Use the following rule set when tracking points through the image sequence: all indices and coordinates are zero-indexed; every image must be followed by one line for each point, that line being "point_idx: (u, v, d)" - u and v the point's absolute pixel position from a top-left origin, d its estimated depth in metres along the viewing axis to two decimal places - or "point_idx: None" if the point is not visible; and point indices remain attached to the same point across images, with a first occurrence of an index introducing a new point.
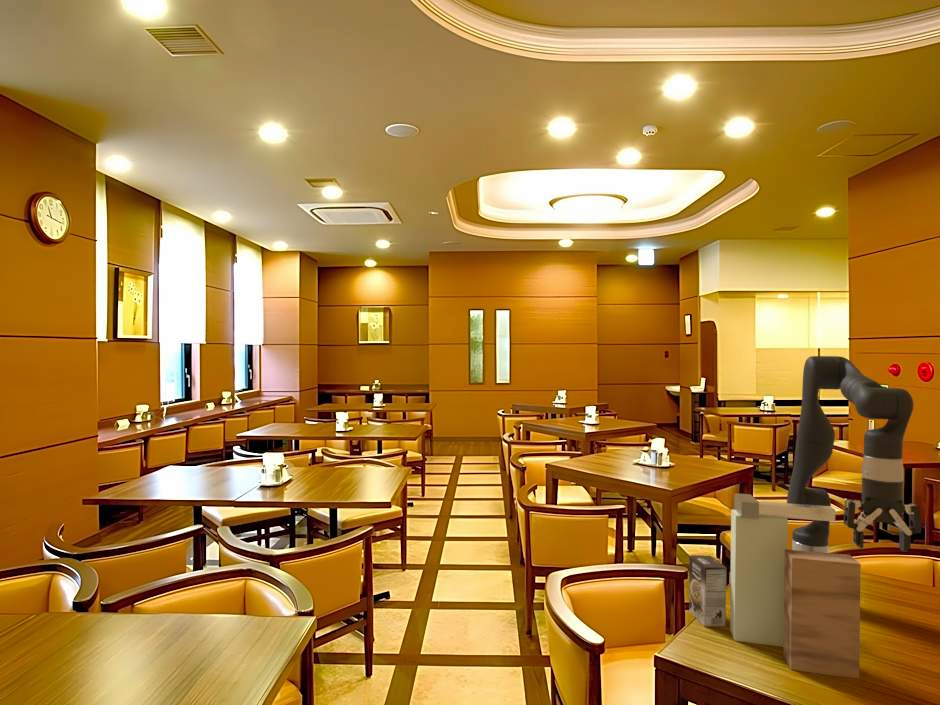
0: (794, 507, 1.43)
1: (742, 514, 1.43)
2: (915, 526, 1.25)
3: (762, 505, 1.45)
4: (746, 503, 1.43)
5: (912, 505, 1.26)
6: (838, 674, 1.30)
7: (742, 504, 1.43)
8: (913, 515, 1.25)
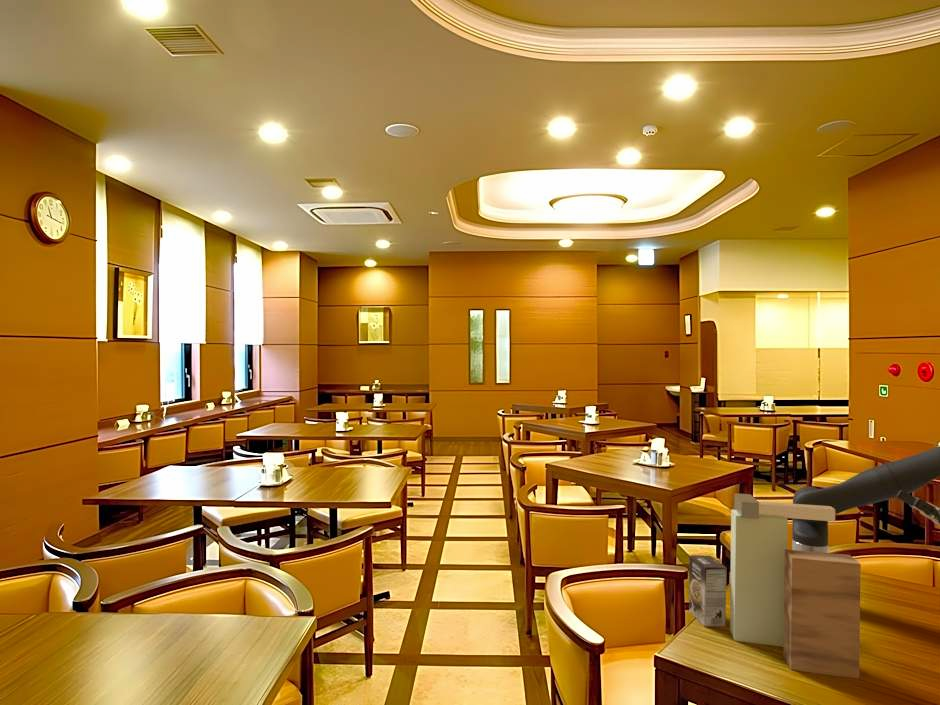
0: (794, 507, 1.43)
1: (742, 514, 1.43)
2: None
3: (762, 505, 1.45)
4: (746, 503, 1.43)
5: None
6: (838, 674, 1.30)
7: (742, 504, 1.43)
8: (926, 513, 1.42)
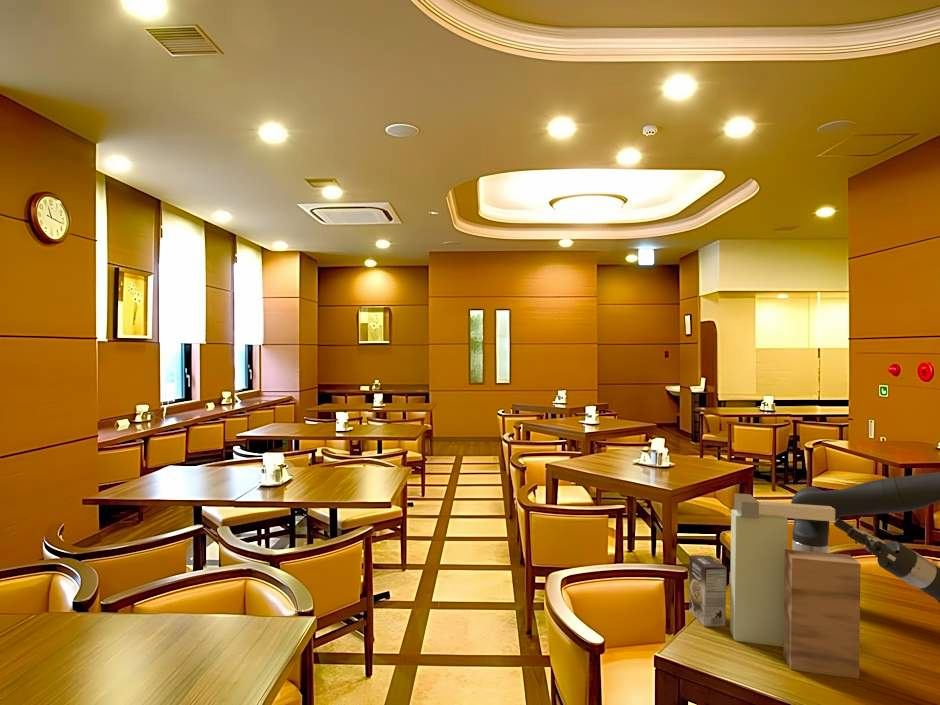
0: (794, 507, 1.43)
1: (742, 514, 1.43)
2: None
3: (762, 505, 1.45)
4: (746, 503, 1.43)
5: None
6: (838, 674, 1.30)
7: (742, 504, 1.43)
8: None
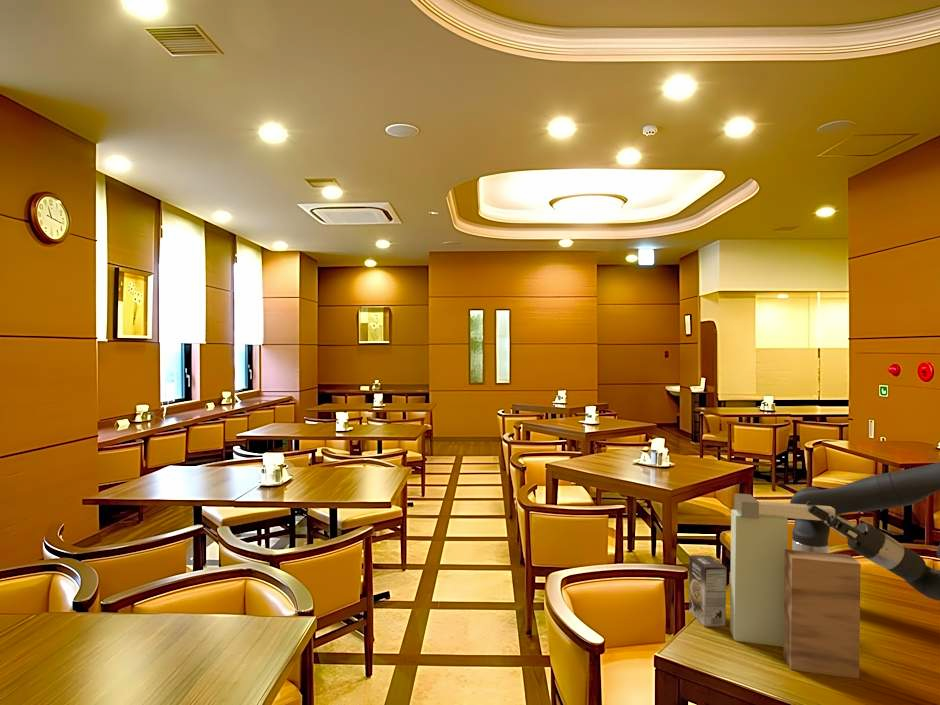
0: (794, 507, 1.43)
1: (742, 514, 1.43)
2: None
3: (762, 505, 1.45)
4: (746, 503, 1.43)
5: None
6: (838, 674, 1.30)
7: (742, 504, 1.43)
8: None
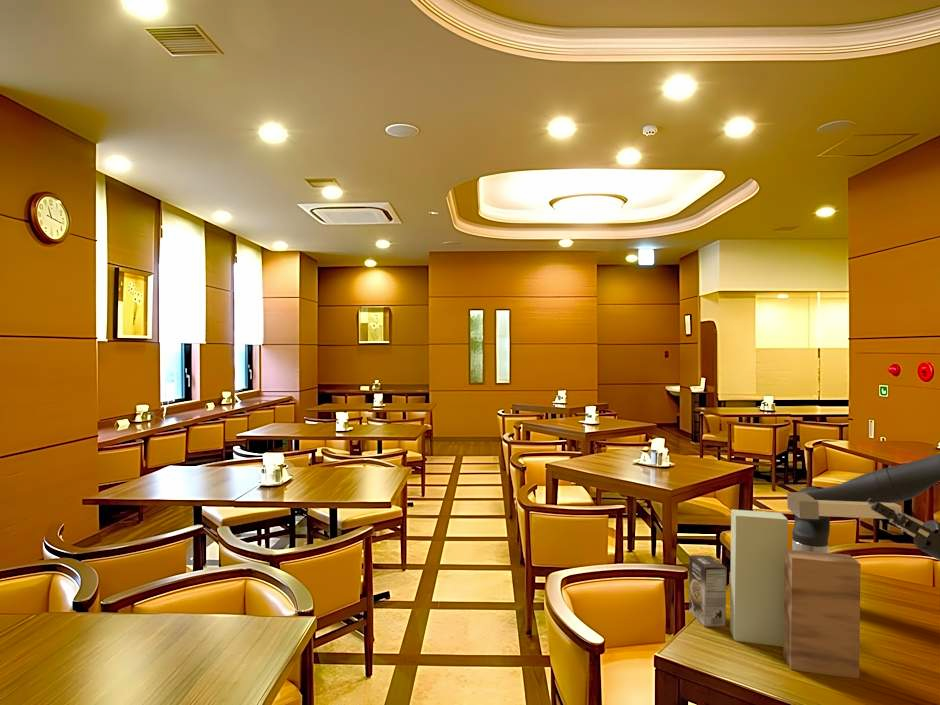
0: (856, 505, 1.32)
1: (800, 515, 1.32)
2: None
3: (821, 504, 1.34)
4: (804, 502, 1.32)
5: None
6: (838, 674, 1.30)
7: (800, 504, 1.32)
8: None
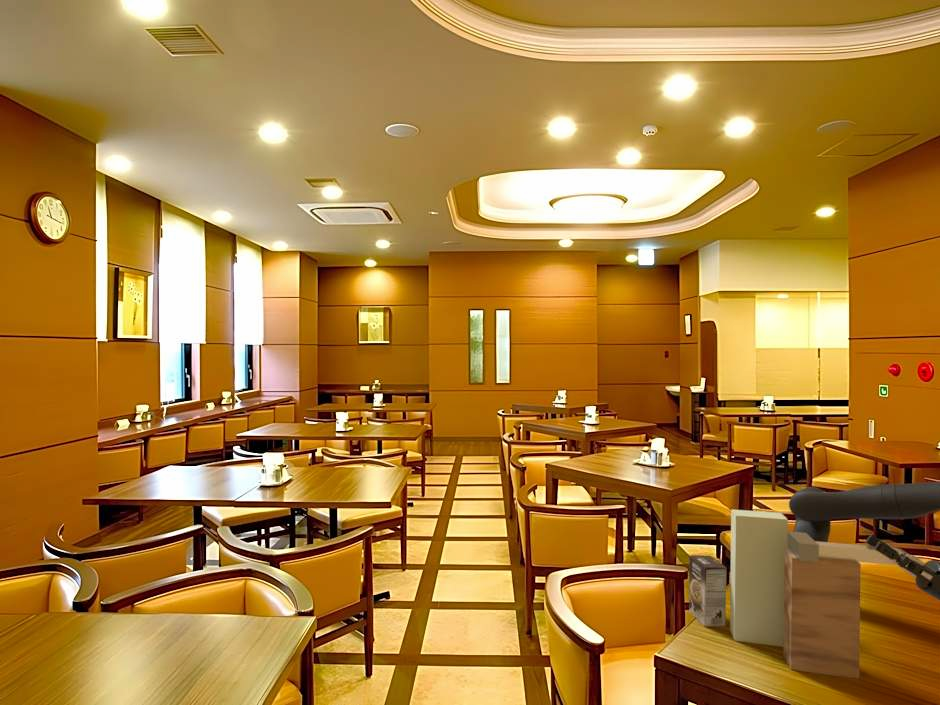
0: (857, 549, 1.30)
1: (800, 557, 1.30)
2: None
3: (821, 546, 1.32)
4: (804, 545, 1.30)
5: None
6: (838, 674, 1.30)
7: (800, 546, 1.30)
8: None
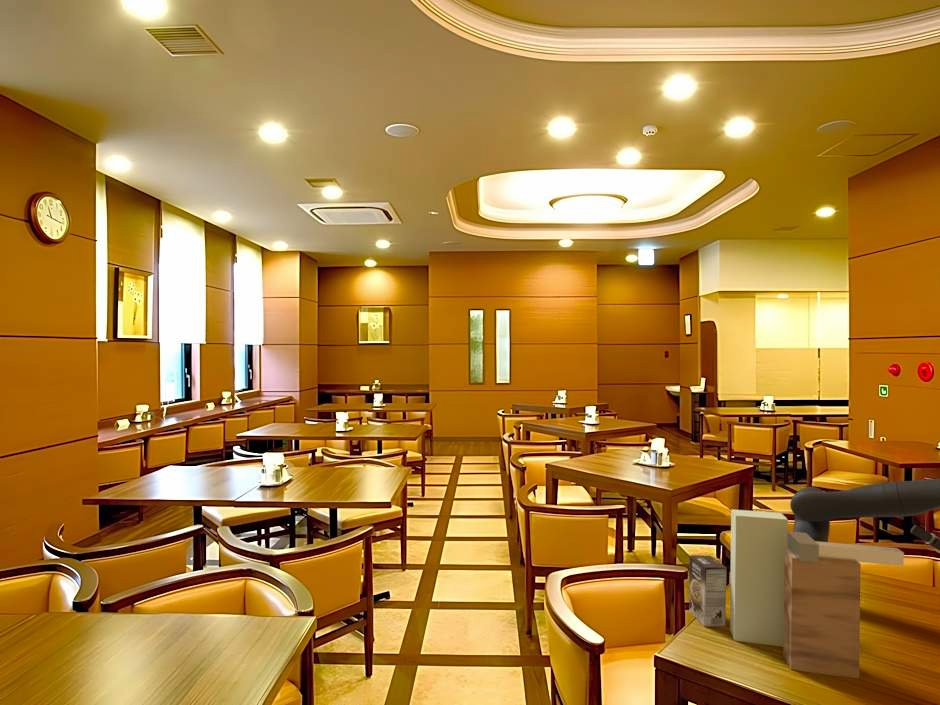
0: (857, 549, 1.30)
1: (800, 557, 1.30)
2: None
3: (821, 546, 1.32)
4: (804, 545, 1.30)
5: None
6: (838, 674, 1.30)
7: (800, 546, 1.30)
8: None
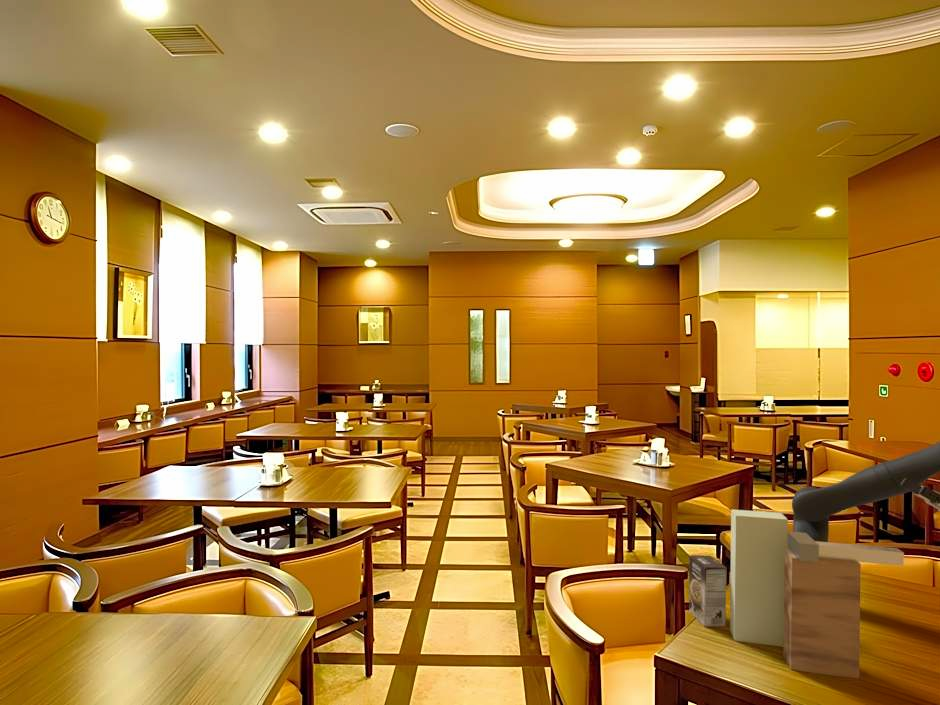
0: (857, 549, 1.30)
1: (800, 557, 1.30)
2: (920, 497, 1.38)
3: (821, 546, 1.32)
4: (804, 545, 1.30)
5: None
6: (838, 674, 1.30)
7: (800, 546, 1.30)
8: (931, 502, 1.37)
